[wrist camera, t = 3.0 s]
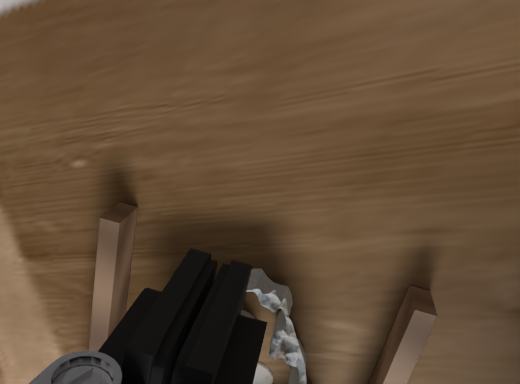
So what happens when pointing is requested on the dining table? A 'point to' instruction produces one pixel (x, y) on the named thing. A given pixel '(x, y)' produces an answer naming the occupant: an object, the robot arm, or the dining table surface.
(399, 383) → the pair of wooden bars
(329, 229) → the dining table surface
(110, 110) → the dining table surface
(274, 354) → the egg carton
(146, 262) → the dining table surface
